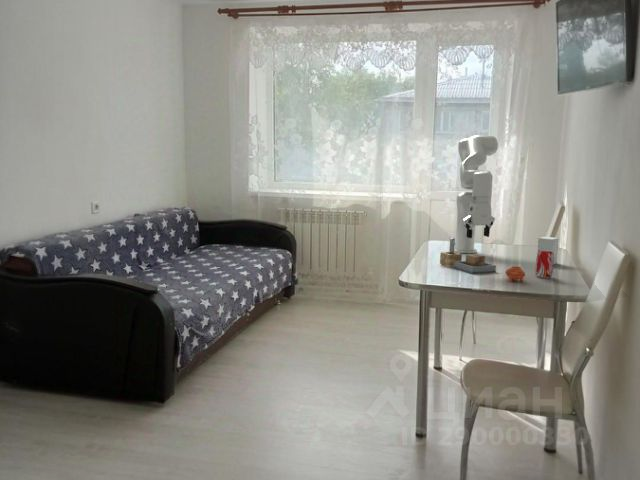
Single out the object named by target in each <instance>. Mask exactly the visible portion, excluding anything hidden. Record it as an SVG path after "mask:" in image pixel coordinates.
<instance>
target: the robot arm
mask: <svg viewBox="0 0 640 480" xmlns="http://www.w3.org/2000/svg"><path fill="white" fill-rule="evenodd" d="M498 143H499V142H498V139H497V137H496V136H493V135H473V136H470V137H469V138H462V139H460V140H459V142H458V146H457V147H458V153H459V156H460V161H461V165H460V168H459V180H460V186H461V189H464V190H471V191H464V192H461V193H458V195H457V196H456V209H457V210H456V211H457V214H456V215H457V218H456V219H457V220H456V235H455V246H454V252H456V253H460V254H477V252H478V250H477V249H476V248H475V236H476V227H477V226H484V227H483V236H484V237H487V238H489V237H490V234H491V233H490V231H491V228H492V226H493V225H494V223H495V220H496V218H495V216H492V205H491V204H492V192H493V174H492V172H491V171H489V170H487V169H486V170H483V169H482V170H481V169H479V167H481V166H483V165H484V164H485V163H486V162H487V159H488V158H487V157H488V156H489V157H490V156H492V155H494V154H496V152H497V150H498V147H499V144H498Z"/></svg>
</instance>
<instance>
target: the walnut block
mask: <svg viewBox="0 0 640 480" xmlns="http://www.w3.org/2000/svg"><path fill="white" fill-rule="evenodd" d="M465 261H466V263H465V264H466V265H469V266H472V267H476V266H485V262H486V256H485V255H483V254H479V253H465Z"/></svg>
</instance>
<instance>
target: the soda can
mask: <svg viewBox="0 0 640 480" xmlns="http://www.w3.org/2000/svg"><path fill="white" fill-rule="evenodd" d="M535 259H536V260H535V271H534V272H535V276H537V277H538V278H541V279H549V278H551V277H553V271H554V264H553V262H554V253H553V250H551V249H539V251H538V250H537V252H536V258H535Z"/></svg>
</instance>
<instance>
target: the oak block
mask: <svg viewBox="0 0 640 480" xmlns="http://www.w3.org/2000/svg"><path fill="white" fill-rule="evenodd" d="M439 256H440V259H439V265H440V264H441V265H440V266H443V265H444V267H446V266H447V267H446V268H454V262H458V261H463V258H462V257H463V253H458V252H454V254H449V251H442V252H441V251H440V255H439Z"/></svg>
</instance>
